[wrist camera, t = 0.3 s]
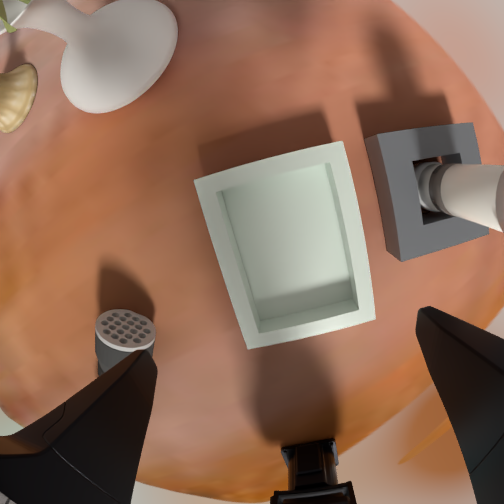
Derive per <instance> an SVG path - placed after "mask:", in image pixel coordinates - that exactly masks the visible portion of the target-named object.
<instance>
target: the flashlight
mask: <svg viewBox="0 0 504 504" xmlns="http://www.w3.org/2000/svg"><path fill="white" fill-rule="evenodd" d="M155 336H156V329H155V326H154V324H153V323H152V322H151V321H150V320H149V319H148V318H147V317H145V316H142V315H140V314H137V313H135V312H132V311H130V310H125V309H114V310H109V311H106V312H104V313H102V314H101V315H100V316H99V317H98V318H97V320H96V326H95V352H96V355H97V358H98V374H99V376H101V375H102V374H104V373H105V372H106V371H108V370H109V369H110V368H112V367H113V366H115V365H116V364H117V363H119V362H120V361H121V360H123V359H124V358H125V357H127V356H128V355H130V354H131V353H132V352H134V351H135V350H138V349H146V350H148V351H149V353H150V355H151V357H152V355H153V348H154V342H155Z"/></svg>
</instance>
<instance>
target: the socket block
mask: <svg viewBox="0 0 504 504" xmlns="http://www.w3.org/2000/svg"><path fill="white" fill-rule="evenodd" d="M364 141H365V145H366V149H367V153H368V157H369V161H370V165H371V169H372V173H373V178H374V182H375V187H376V191H377V196H378V201H379V206H380V212H381V217H382V223H383V229H384V235H385V241H386V248H387V251H388V252H389V253H390V254H392V255H393V256H394V257H395V258H397V259H398V260H399V261H401V262H403V261H406V260H409V259H413V258H416V257H419V256H423V255H426V254H429V253H432V252H436V251H439V250H442V249H445V248H448V247H451V246H455V245H458V244H461V243H464V242H467V241H470V240H473V239H476V238H479V237H482V236H485V235H487V234H489V227H487V226H484V225H481V224H478V223H475V222H472V221H469V220H466V219H463V218H459V217H455V216H452V215H448V214H445V213H442V212H430V213H426V214H422V212H421V205H420V199H419V193H418V188H417V182H416V177H415V172H414V167H413V163H412V161H415V160H420V159H426V158H432V157H438V156H441V158H442V163H443V164H445V163H459V164H481V158H480V153H479V148H478V143H477V139H476V134H475V130H474V126H473V122H472V123H460V124H449V125H439V126H430V127H422V128H415V129H407V130H401V131H394V132H388V133H382V134H376V135H373V136H371V137H368V138H365V139H364Z"/></svg>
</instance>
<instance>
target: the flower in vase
mask: <svg viewBox="0 0 504 504" xmlns="http://www.w3.org/2000/svg"><path fill="white" fill-rule="evenodd" d="M17 28H32V29H38V30H42V31H46V32H49V33H51V34H54V35H56V36H58V37H60V38H61V39H63V40H64V41H65V42H66V43H67V46H66V48H65V50H64V53H63V57H62V62H61V84H62V88H63V91H64V93H65V95H66V96H67V98H68V99H69V100H70V101H71V102H72V103H73V104H74V105H75V106H76V107H77V108H79V109H80V110H83V111H85V112H89V113H106V112H110V111H114V110H116V109H119V108H122V107H123V106H125V105H127V104H129V103H131V102H132V101H134V100H135V99H137V98H138V97H140V96H141V95H142V94H143V93H145V92H146V91H147V90H148V89H149V88H150V87H151V86H152V85H153V84H154V83H155V82H156V81H157V79H158V78H159V77H160V76H161V74H162V73H163V72H164V70H165V69H166V67H167V65H168V64H169V62H170V60H171V58H172V55H173V53H174V50H175V47H176V43H177V38H178V27H177V22H176V18H175V16H174V14H173V13H172V11H171V10H170V9H169V8H168V7H167V6H166V5H164V4H163V3H161V2H159V1H156V0H118V1H115V2H113V3H110V4H108V5H106V6H104V7H102V8H100V9H98V10H97V11H95V12H94V13H93V14H91V15H88V14H85V13H83V12H81V11H80V10H78V9H76V8H75V7H74V6H72V5H71V4H70V3H68V2H67V1H66V0H0V34H3V33H5V32H9V33H12V32H15V31H16V30H17Z"/></svg>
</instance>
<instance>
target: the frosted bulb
mask: <svg viewBox="0 0 504 504" xmlns="http://www.w3.org/2000/svg"><path fill="white" fill-rule="evenodd" d="M413 167H414V172H415V177H416V182H417V188H418V193H419V199H420V205H421V208H423V209H426V210H429V211H433V212H442V213H445V214H448V215H452V216H455V217H459V218H463V219H466V220H469V221H472V222H475V223H478V224H481V225H484V226H487V227H490V228H492V229H495V230H498V231H501V232H503V233H504V165H482V164H459V163H445V164H442V163H439V162H420V163H417V164H415V165H413Z"/></svg>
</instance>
